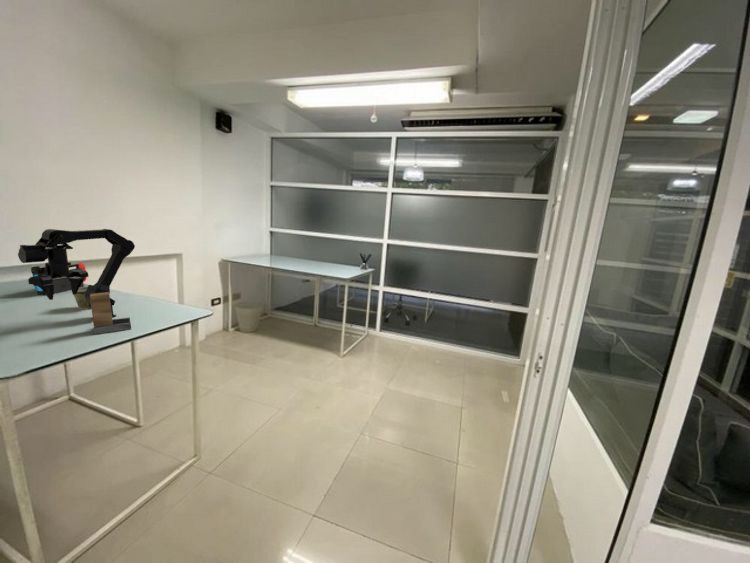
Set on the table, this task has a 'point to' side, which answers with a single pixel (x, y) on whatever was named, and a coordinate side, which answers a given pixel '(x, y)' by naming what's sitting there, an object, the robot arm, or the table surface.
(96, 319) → the wooden block
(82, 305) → the ceramic cup
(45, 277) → the robot arm
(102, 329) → the track
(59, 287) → the game console
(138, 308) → the table surface
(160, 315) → the table surface
